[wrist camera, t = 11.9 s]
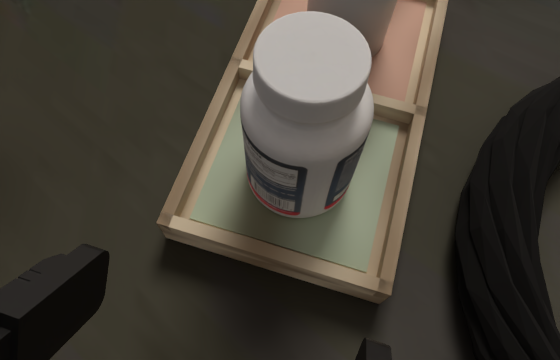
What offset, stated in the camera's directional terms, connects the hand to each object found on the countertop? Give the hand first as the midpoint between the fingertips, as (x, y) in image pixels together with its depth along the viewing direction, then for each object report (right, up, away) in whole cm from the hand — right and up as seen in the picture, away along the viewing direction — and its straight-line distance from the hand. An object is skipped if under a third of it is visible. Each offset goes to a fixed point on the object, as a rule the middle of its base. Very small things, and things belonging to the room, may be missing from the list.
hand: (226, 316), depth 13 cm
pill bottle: (+3, +4, +10) cm, 11 cm away
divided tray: (+4, +8, +13) cm, 16 cm away
